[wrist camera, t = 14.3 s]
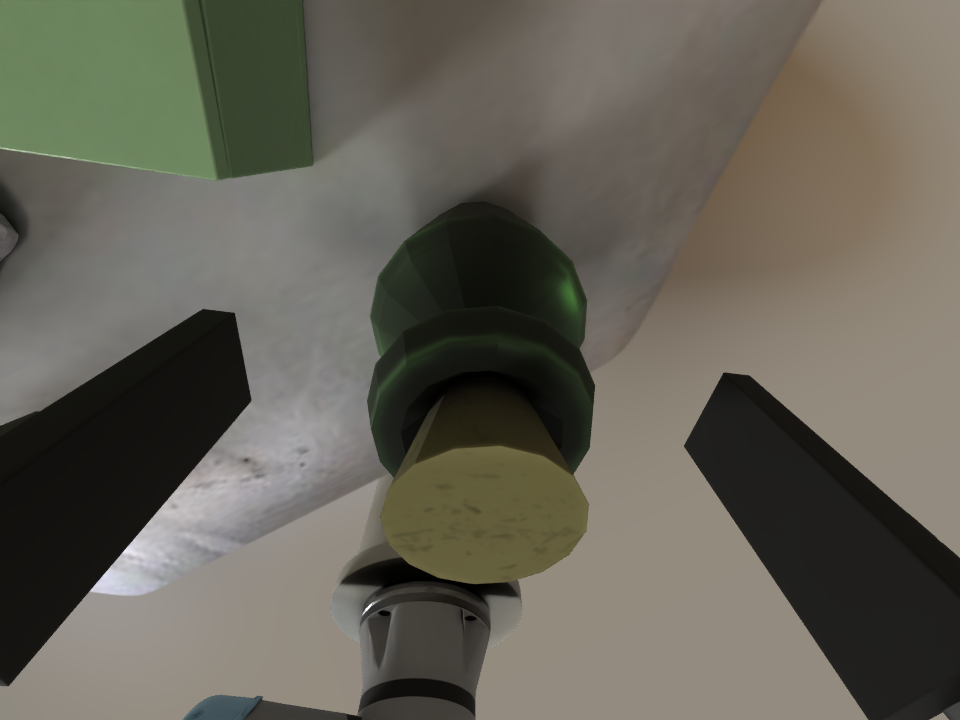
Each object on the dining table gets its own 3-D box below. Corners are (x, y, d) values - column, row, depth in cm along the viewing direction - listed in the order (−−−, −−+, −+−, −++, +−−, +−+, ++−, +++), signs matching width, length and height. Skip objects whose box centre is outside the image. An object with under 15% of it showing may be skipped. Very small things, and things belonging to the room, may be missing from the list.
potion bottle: (560, 195, 21) (811, 353, 5) (532, 329, 25) (629, 643, 9) (410, 175, 20) (202, 288, 5) (406, 315, 24) (286, 628, 9)
